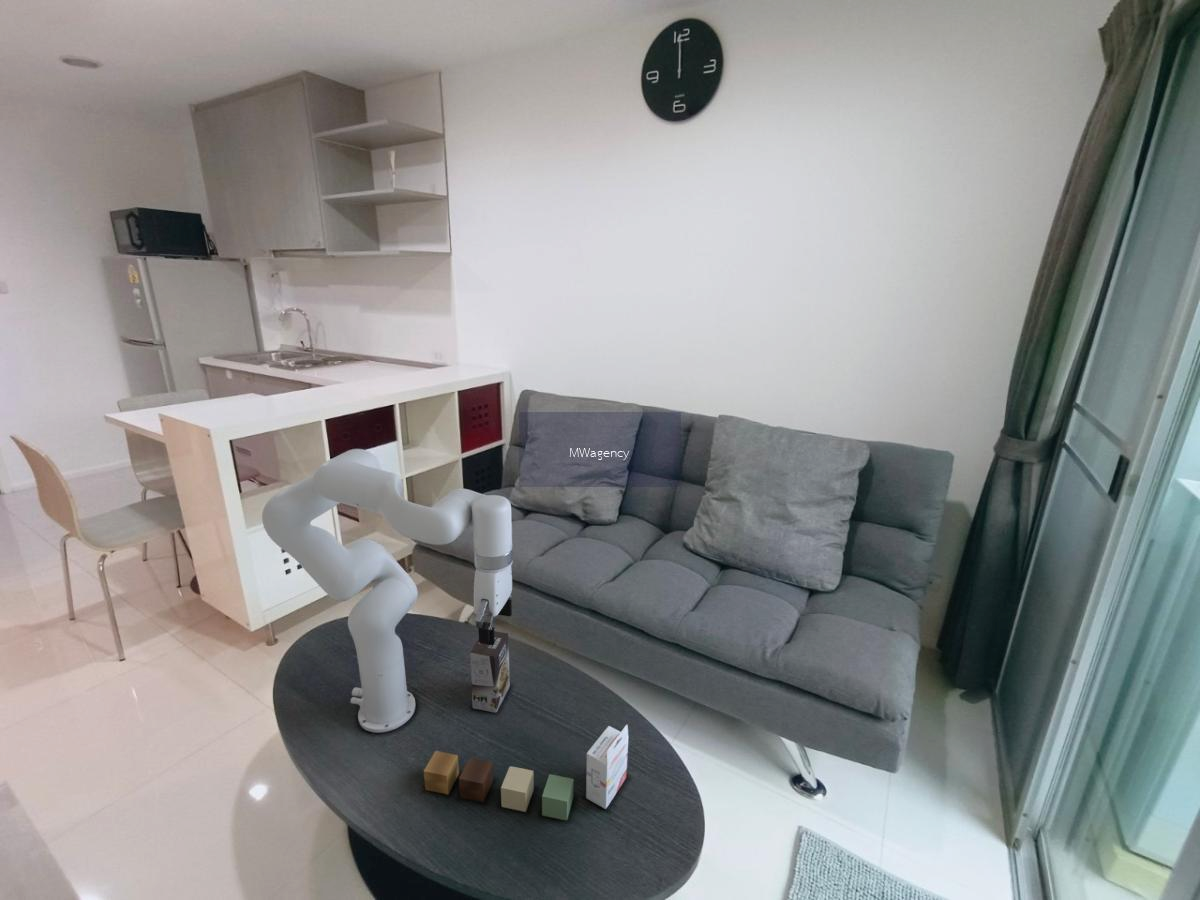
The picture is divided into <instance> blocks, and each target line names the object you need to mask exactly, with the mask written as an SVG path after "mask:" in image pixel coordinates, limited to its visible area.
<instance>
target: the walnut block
mask: <svg viewBox="0 0 1200 900" xmlns="http://www.w3.org/2000/svg"><path fill="white" fill-rule="evenodd" d="M459 775H460V776H458V777H459V778H458V785H459V786H458V787H459V798H461V799H466V800H470V801H474V802H475V801H476V802H480V803H484V802H485V800H486V798H487V796H488V793H489V791H490V790H491V787H492V784H493V782H494V771H493V762H492V761H488V760H484V759H478V758H474V757H468V760H467V761H466V764H465V766H464V767H463V769H462V771H461V773H460V774H459Z"/></svg>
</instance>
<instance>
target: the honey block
mask: <svg viewBox="0 0 1200 900" xmlns="http://www.w3.org/2000/svg"><path fill="white" fill-rule="evenodd" d="M459 775H460V767H459V755H458V754H454V753H449V752H445V751H439V750H434V753H433V754H432V756H431V758H430V759H429V761H428V762H427V764H426V766H425V768H424V769H423V778H424V789H425V791H430V792H435V793H438V794H443V795H448V796H449V794H450V792H451V790H452V788H453V786H454V785H455V783H456V780H457V778H458V777H459Z"/></svg>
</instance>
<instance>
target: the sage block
mask: <svg viewBox="0 0 1200 900" xmlns="http://www.w3.org/2000/svg"><path fill="white" fill-rule="evenodd" d="M574 782H575V781H574V778H570V777H566V776H560V775H556V774H551V773H549V775H548V777H547V780H546V783H545V786H544V789H543V792H542V795H541V815H542V816H543V817H547V818H552V819H558V820H561V821H566V822H567V821H568V819H569V815H570V811H571V809H572V804H573V800H574V786H575V785H574Z"/></svg>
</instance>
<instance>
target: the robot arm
mask: <svg viewBox="0 0 1200 900" xmlns="http://www.w3.org/2000/svg"><path fill="white" fill-rule="evenodd" d="M403 484H404V483H403V479H402V478H401V476H400V475H399V474H397V473H394V472H392V471H388V470H383V469H381V463H380V460H379V459H378V458H377V456H375V455H374V453H371V452H370V451H368V450H366V449H364V448H363V449H362V448H352V449H349V450H346V451H344V452H342V453H340V454H339V455H336V456H335V457H332V458H331V459H328V460H327V461H325V462H323V463H321V465H319V467H318V468H316V471H315V472H314V473H313V474H311V475H309V476H306V477H305V478H302V479H301V480H299V481H297V482H295V483H293V484H291V485H289V486H287V487H285V488H283V489H282V490H280V491H278V492H277V493H276V494H274V495H272V497H270V498H269V499H268V500H267V502H266V503H265V505H264V507H263V509H262V514H261V520H262V525H263V529H264V530H265V532H266V534H267V536H268V537H269V539H270V540H271V541H272V542H273V543H274V544H276V545H277V547H279V548H280V549H281V550H283V551H284V552H286V553H287V554H288V555H290V556H291V557H292V558H293V559H294V560H295V561H296V562H297V563H298V564H299V565H300V566H301V568H303V570H304V571H305V572H306V574H308V575H309V577H310V578H311V579H312V580H314V582H315V583H316V584H317V585H318V586H319V587H320V588H321V589H322V590H323V591H324V592H325V593H326V594H327V595H328V596H329V597H330V598H331V599H332V600H335V601H337V602H347V601H348V600H351V599H352V598H354V597H355V596H356V595H357V594H359V593H360V592H361V591H362V590H363V589H364V588H366V587H367V586H368V585H370V586H371V587H372V588H371V589H370V590H368V591H367V592H366V593H365V595H363V596H362V597H361V598H360V599H359V600H358V601H357V602H356V603H355V604H354V606H353V607H352V609H351V610H350V612H349V614H348V616H347V627H348V631H349V633H350V635H351V637H352V640H353V643H354V647H355V652H356V659H357V664H358V670H359V671H358V672H359V679H360V686H361V687H356V686H355V687H354V688H353V689H352V691H351V696H352V697H351V698H350V704H353V705H358V706H359V710H358V712H357V719H358V723H359V725H360V727H361V728H362V729H363V730H365V731H366V732H367V731H368V732H371V733H377V734H379V733H380V734H381V733H386V732H390V731H393V730H396V729H398V728H400V727H402V726H403V725H404V724H405V723H407V722H409V720H410V719H411V718H412V716H413V715H414V713H415V711H416V699H415V697H414V695H413V693H412V692H410V691H408V687H407V676H406V668H405V657H404V648H403V643H402V639H401V638H400V637H399V635H397V633H396V627H397V625H398V624H399V623H400V622H401V620H403V618H404V617H405V616H406V614H407V613H408V612H410V610H411V609H412V608H413V607H414V605H415V604H416V602H417V601H418V597H419V590H418V587H417V585H416V583H415V581H414V580H413V578H412V577H411V576H410V575H409V574H408V573H407V572H406V570H405V569H404V568H403V567H402V566H401V564H400V563H398V561H397V560H396V559H395V558H394V556H392V554H391V553H390V552H389V551H388V550H387V549H386V548H385V547H384V546H383V545H382V544H381V543H379V542H377V541H375V540H372V539H369V538H363V539H358V540H355V541H353V542H352V543H350V544H349V545H348V546H346V547H345V546H343V545H342V543H341V542H340V541H339V540H338V539H337V538H336V536H335V535H333V534H332V533H331V532H330V531H328V530H326V529H324V528H322V527H319V526H317V525H313V524H311V523H312V521H313V520H315V519H317V518H319V517H321V516H322V515H324V514H326V513H327V512H329V511H330V510H332V509H333V508H335V507H336V506H338V505H340V504H343V505H347V506H350V507H353V508H357V509H361V510H364V511H368V512H371V513H375V514H378V515H381V516H382V517H383V519H384V520H385V522H386V523H387V524H388V525H389V526H390V528H392V529H393V530H394V531H395V532H397V533H398V534H400V535H401V536H403V537H405V538H407V539H411V540H413V541H417V542H421V543H425V544H430V545H433V546H434V545H436V546H442V545H443V546H444V545H448V544H450V543H452V542H454V541H455V540H456V539H458V538H459V537H460V535H461V534H462V533H464V531H465V530H467V528H470V527H471V528H472V539H473V541H472V543H473V560H474V567H475V572H474V580H473V612H474V614H475V618H474V622H475V625H476V628H477V630H478V640H479V643H482V644H488V645H494V643H495V631H496V630H495V627H494V622H495V617H497V616H502V617H503V616H504V617H512V615H513V601H512V597H513V593H512V592H513V591H512V590H513V573H512V565H513V564H514V563H513V562H514V561H513V559H514V558H513V556H514V555H513V524H512V523H513V521H512V517H513V515H512V505H511V502H510V500H509V499H508V498H507V497H505V496H502V495H496V494H489V495H487V494H484V493H480V492H477V491H474V490H472V489H468V488H461V487H460V488H459V487H458V488H455V489H453V490H451V491H449V492H448V493H447V494H445V495H444V496H443V497H442V498H441V499H440V500H438V501H437V502H436V503H434V504H433V505H432V506H427V505H422V504H418V503H414V502H412V501H409V500H407V499H406V498H404V497H403V492H404V485H403ZM488 610H489V611H490V612H487V611H488ZM486 616H487V617H489V620H488V622H487V621H485V617H486Z"/></svg>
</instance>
